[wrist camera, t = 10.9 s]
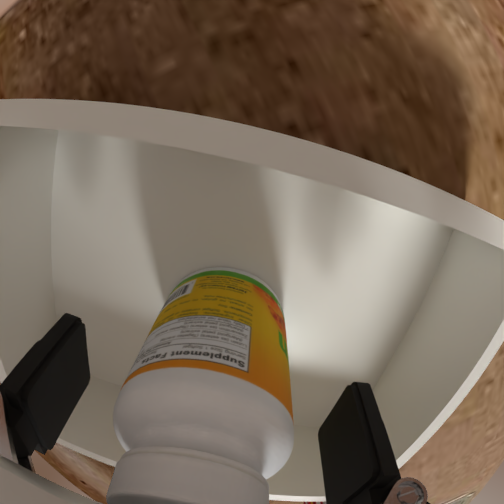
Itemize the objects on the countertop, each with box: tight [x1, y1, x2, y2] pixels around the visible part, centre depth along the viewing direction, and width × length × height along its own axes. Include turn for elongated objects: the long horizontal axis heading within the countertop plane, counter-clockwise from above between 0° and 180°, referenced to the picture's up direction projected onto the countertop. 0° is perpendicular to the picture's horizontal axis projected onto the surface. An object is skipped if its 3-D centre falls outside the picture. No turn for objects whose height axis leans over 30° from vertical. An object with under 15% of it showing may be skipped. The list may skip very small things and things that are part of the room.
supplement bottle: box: [106, 267, 294, 504], centre depth 10 cm, size 5×5×10 cm
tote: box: [0, 99, 504, 502], centre depth 12 cm, size 16×20×6 cm
